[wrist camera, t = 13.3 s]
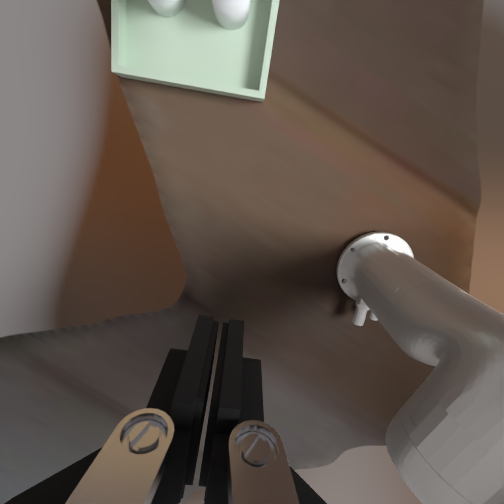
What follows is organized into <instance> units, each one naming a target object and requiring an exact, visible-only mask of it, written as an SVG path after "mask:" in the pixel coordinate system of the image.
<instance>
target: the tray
mask: <svg viewBox="0 0 504 504" xmlns="http://www.w3.org/2000/svg"><path fill="white" fill-rule="evenodd" d="M278 6H279V0H250V13H249V17H248V20H247V22H246V23H245V25H244V26H243V27H241V28H240V29H237V30H228V29H225V28H224V27H222V26H221V25H220V24H219V22H218V21H217V19H216V16H215V13H214V8H213V3H212V0H184V5H183V8H182V9H181V11H180V12H179V13H178V14H177V15H176V16H174V17H170V18H167V17H162V16H160V15H159V14H157V13H156V12H155V11H154V10H153V8H152V7H151V5H150V4H149V2H148V1H147V0H111V67H112V68H111V69H112V72H113V73H115V74H117V75H118V76H120V77H122V78H128V79H134V80H139V81H145V82H151V83H156V84H162V85H167V86H173V87H179V88H184V89H190V90H196V91H201V92H207V93H212V94H218V95H224V96H229V97H235V98H241V99H246V100H252V101H257V102H263V101H264V98H265V91H266V85H267V78H268V72H269V65H270V58H271V52H272V45H273V39H274V32H275V26H276V19H277V12H278Z"/></svg>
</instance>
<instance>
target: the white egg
mask: <svg viewBox="0 0 504 504" xmlns="http://www.w3.org/2000/svg"><path fill="white" fill-rule="evenodd" d="M147 1H148V2H149V4H150V5H151V7H152V8H153V10H154V11H155V12H156V13H157V14H159V15H160V16H162V17H167V18H170V17H174V16H176V15H177V14H178V13H179V12H180V11H181V9H182V8H183V5H184V0H147Z"/></svg>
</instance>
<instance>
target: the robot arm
mask: <svg viewBox="0 0 504 504" xmlns="http://www.w3.org/2000/svg"><path fill="white" fill-rule="evenodd" d="M384 236H385V237H384ZM351 248H352V249H351ZM350 249H351V250H350ZM336 271H337V279H338V282H339V284H340V286H341V288H342V289H343V291H344V292H345V293H346V294H347V295H348V296H349V297H351V298H352V299H354V300H356V302H355V305H356V306H357V307H356V310H355V312H354V315H353V319H352V322H353V323H354V324H355V325H358V326H363V324H364V321H365V318H366V313H367V310H371V313H370V316H369V317H370V318H371V319H372V320H375V321H376V320H379V322H380V323H381V324H382V326H383V327H384V328H385V329H386V331H387V332H388V333H389V334H390V336H391V337H392V338H393V340H394V341H395V342H396V343H397V345H398V346H399V347H400V348H401V349H402V350H403V351H404V352H405V353H406V354H408V355H409V356H410V357H412V358H414V359H416V360H418V361H420V362H422V363H425V364H429V365H432V366H436V367H435V368H434V370H433V371H432V372H431V373H430V374H429V376H428V377H427V379H426V380H425V381H424V382H423V384H422V385H421V386H420V387H419V388H418V389H417V390H416V391H415V393H414V394H413V395H412V396H411V397H410V398H409V399H408V401H407V402H406V403H405V404H404V405H403V406H402V408H401V409H400V410H399V411H398V412H397V414H396V415H395V416H394V418H393V419H392V420H391V422H390V424H389V426H388V428H387V432H386V446H387V450H388V453H389V455H390V458H391V460H392V462H393V464H394V466H395V468H396V469H397V471H398V472H399V474H400V475H401V477H402V478H403V480H404V481H405V483H406V484H407V485H408V487H409V488H410V489H411V490H412V492H413V493H414V494H415V495H416V497H417V498H418V499H419V500H420V501H421V502H422V503H423V504H504V314H502V313H500V312H498V311H496V310H494V309H492V308H491V307H489V306H487V305H485V304H484V303H482V302H480V301H479V300H477V299H475V298H474V297H472V296H471V295H469V294H467V293H466V292H464V291H463V290H461V289H460V288H458V287H457V286H455V285H453V284H452V283H450V282H449V281H447V280H446V279H444V278H443V277H441V276H440V275H438V274H437V273H435V272H434V271H432V270H431V269H429V268H427V267H426V266H424V265H423V264H421V263H420V262H418V261H417V260H415V259H414V257H413V253H412V250H411V248H410V247H409V245H408V244H407V243H406V242H405V241H404V240H403V239H402V238H400V237H398V236H397V235H394V234H392V233H389V232H383V231H376V232H370V233H367V234H364V235H361V236H360V237H358V238H356V239H354V240H353V241H352V242H351V243H350V244H348V246H347V247H346V248H345V249H344V250H343V252H342V254H341V255H340V258H339V260H338V263H337V269H336ZM342 279H343V280H342ZM213 320H214V317H210V316H202V315H199V317H198V320H197V323H196V327H195V330H194V333H193V336H192V339H191V343H190V346H189V349H188V350H180V349H172V348H171V349H170V351H169V353H168V356H167V358H166V360H165V363H164V365H163V368H162V370H161V373H160V375H159V378H158V380H157V383H156V385H155V388H154V390H153V393H152V395H151V398H150V400H149V403H148V405H147V407H146V409H140V410H137V411H135V412H132V413H130V414H129V415H128V416H126V417H125V418H123V420H122V421H121V422H120V423H119V424H118V425H117V427H116V428H115V430H114V431H113V433H112V434H111V436H110V437H109V439H108V440H107V442H106V443H105V445H104V446H103V447H102V448H100V449H98V450H97V451H95V452H93V453H91V454H90V455H88V456H86V457H84V458H83V459H81V460H79V461H77V462H75V463H74V464H72V465H70V466H68V467H67V468H65V469H63V470H61V471H60V472H58V473H56V474H54V475H52V476H51V477H49V478H47V479H45V480H44V481H42V482H40V483H38V484H37V485H35V486H33V487H31V488H30V489H28V490H26V491H24V492H22V493H21V494H19V495H17V496H15V497H14V498H12V499H10V500H9V501H8V502H6V503H5V504H178V503H180V501H181V498H183V494H184V489H185V485H193V480H194V474H195V468H196V462H197V457H198V451H199V445H200V439H201V433H202V428H203V422H204V416H205V410H206V404H207V399H208V393H209V387H210V381H211V374H212V366H213V359H214V352H215V345H216V338H217V331H218V324H219V322H217V321H213ZM243 333H244V321H239V320H232V319H230V320H229V323H225V322H223V328H222V334H221V341H220V347H219V353H218V360H217V366H216V372H215V379H214V385H213V392H212V398H211V405H210V411H209V418H208V425H207V432H206V439H205V445H204V452H203V459H202V466H201V473H200V480H199V486H204V487H206V490H205V498H204V501H205V503H204V504H327V503H326V502H325V501H324V500H323V499H322V498H321V497H320V496H319V495H318V494H317V493H316V492H315V491H314V490H313V489H312V488H311V487H310V486H309V485H308V484H307V483H306V482H305V481H304V480H303V479H302V478H301V477H300V476H299V475H298V474H297V473H296V472H295V471H294V470H293V469H292V468H291V467H290V466H289V462H288V459H287V455H286V451H285V447H284V444H283V441H282V439H281V437H280V435H279V434H278V432H277V431H276V430H275V429H274V428H273V427H271V426H270V425H269V424H267V423H264V413H263V394H262V374H261V361H260V360H258V359H250V358H243Z"/></svg>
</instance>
